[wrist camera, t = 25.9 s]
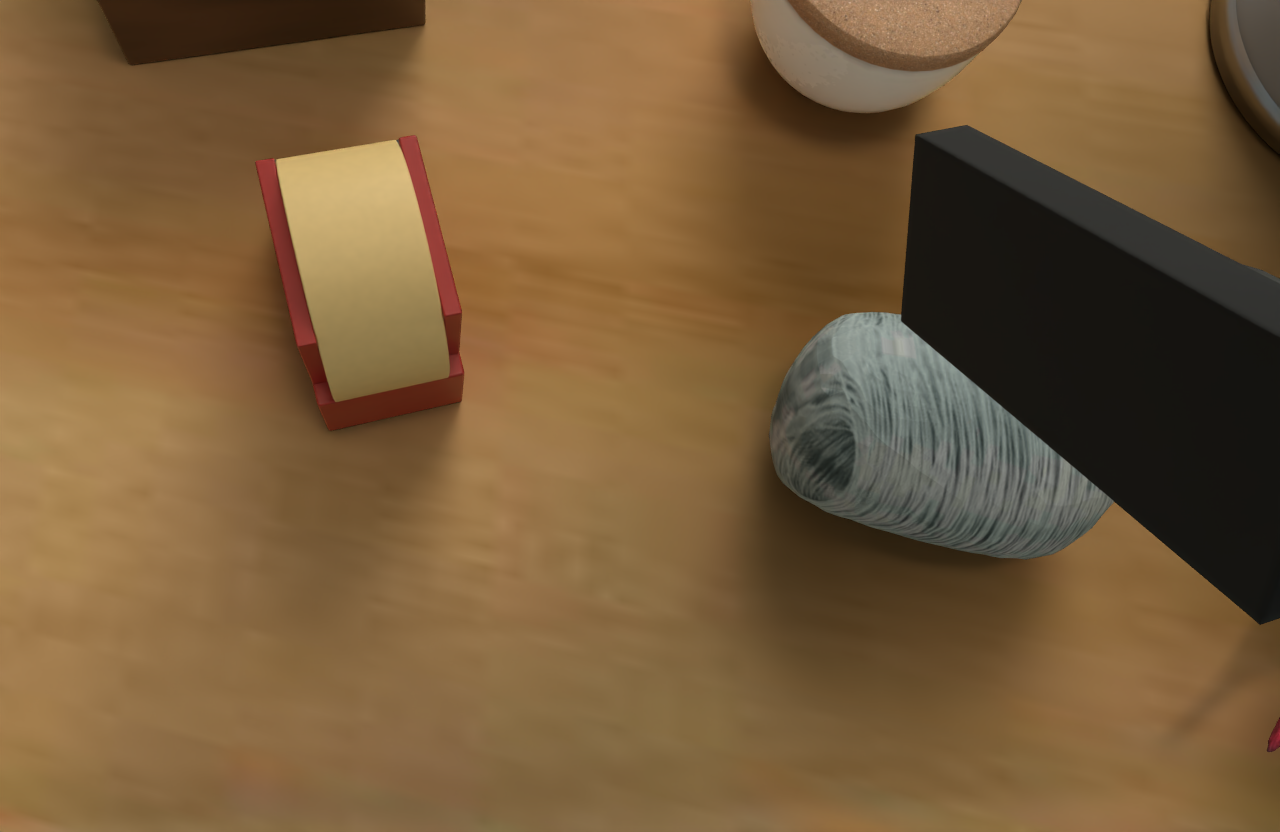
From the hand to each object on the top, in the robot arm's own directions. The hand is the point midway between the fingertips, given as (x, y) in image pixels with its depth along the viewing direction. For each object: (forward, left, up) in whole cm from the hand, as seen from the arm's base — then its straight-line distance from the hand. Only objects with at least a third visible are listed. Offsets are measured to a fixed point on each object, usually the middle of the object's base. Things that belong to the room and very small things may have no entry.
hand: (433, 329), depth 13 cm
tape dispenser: (0, -11, -29) cm, 31 cm away
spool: (-20, 0, -29) cm, 35 cm away
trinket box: (-23, -19, -29) cm, 41 cm away
